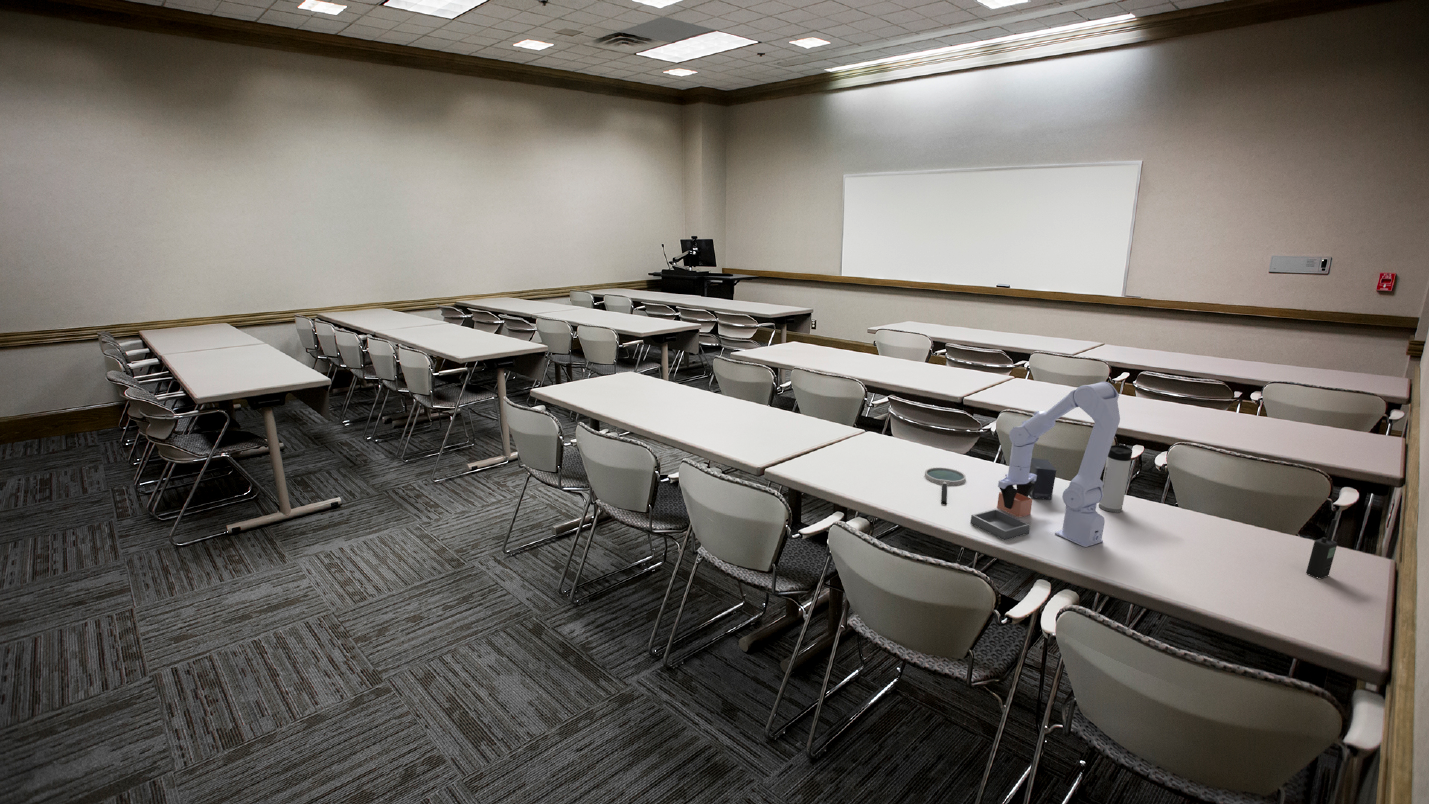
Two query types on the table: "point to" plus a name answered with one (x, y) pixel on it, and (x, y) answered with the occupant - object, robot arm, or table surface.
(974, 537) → the table surface
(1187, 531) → the table surface
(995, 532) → the charcoal crate
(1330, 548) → the walkie-talkie
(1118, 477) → the travel mug
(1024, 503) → the terracotta crate
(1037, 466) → the small box
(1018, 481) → the robot arm
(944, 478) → the magnifying glass
